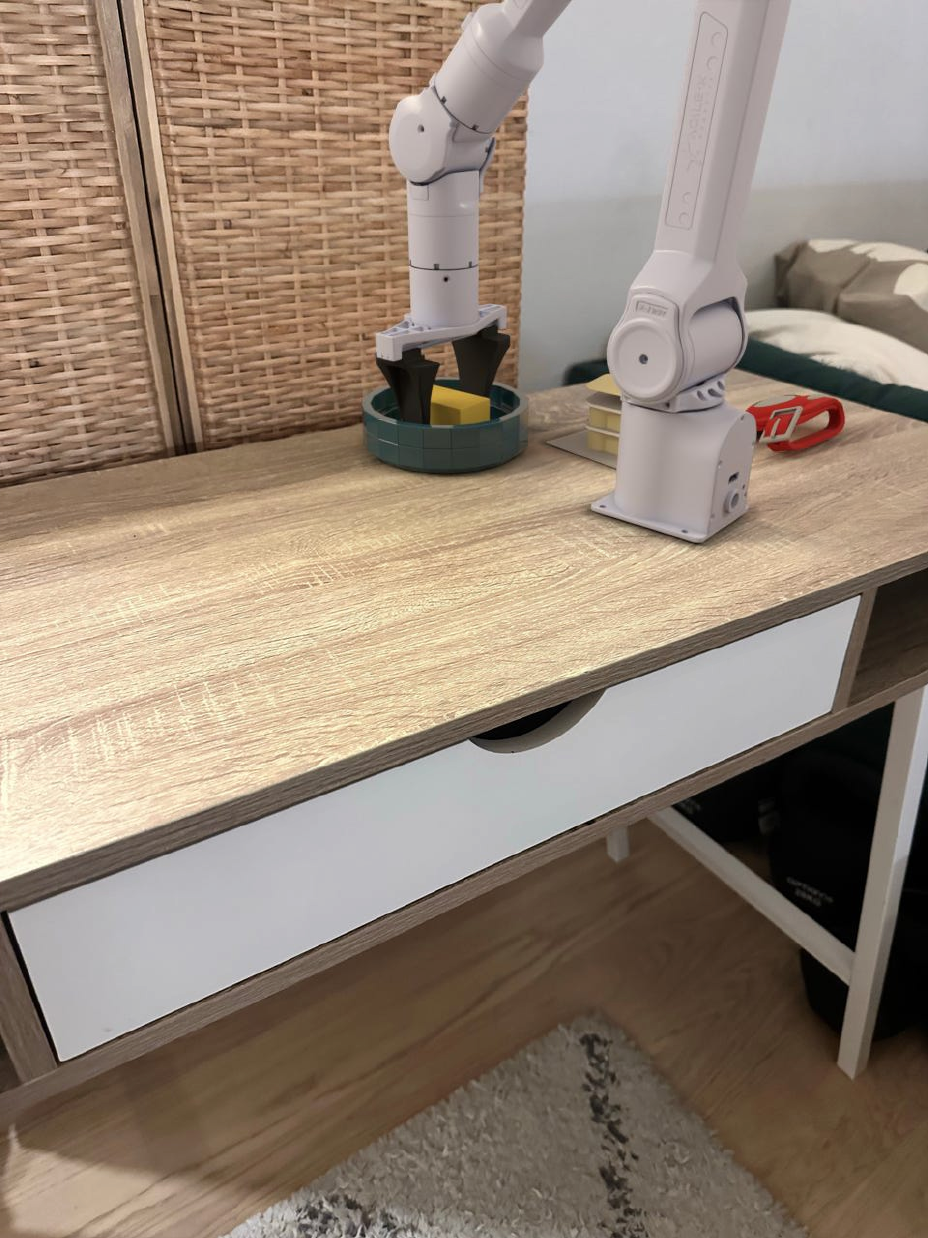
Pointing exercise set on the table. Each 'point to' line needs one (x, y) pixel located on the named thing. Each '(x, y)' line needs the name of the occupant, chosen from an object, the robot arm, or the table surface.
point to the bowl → (446, 433)
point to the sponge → (457, 407)
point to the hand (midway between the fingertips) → (446, 424)
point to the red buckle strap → (795, 419)
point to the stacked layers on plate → (598, 425)
